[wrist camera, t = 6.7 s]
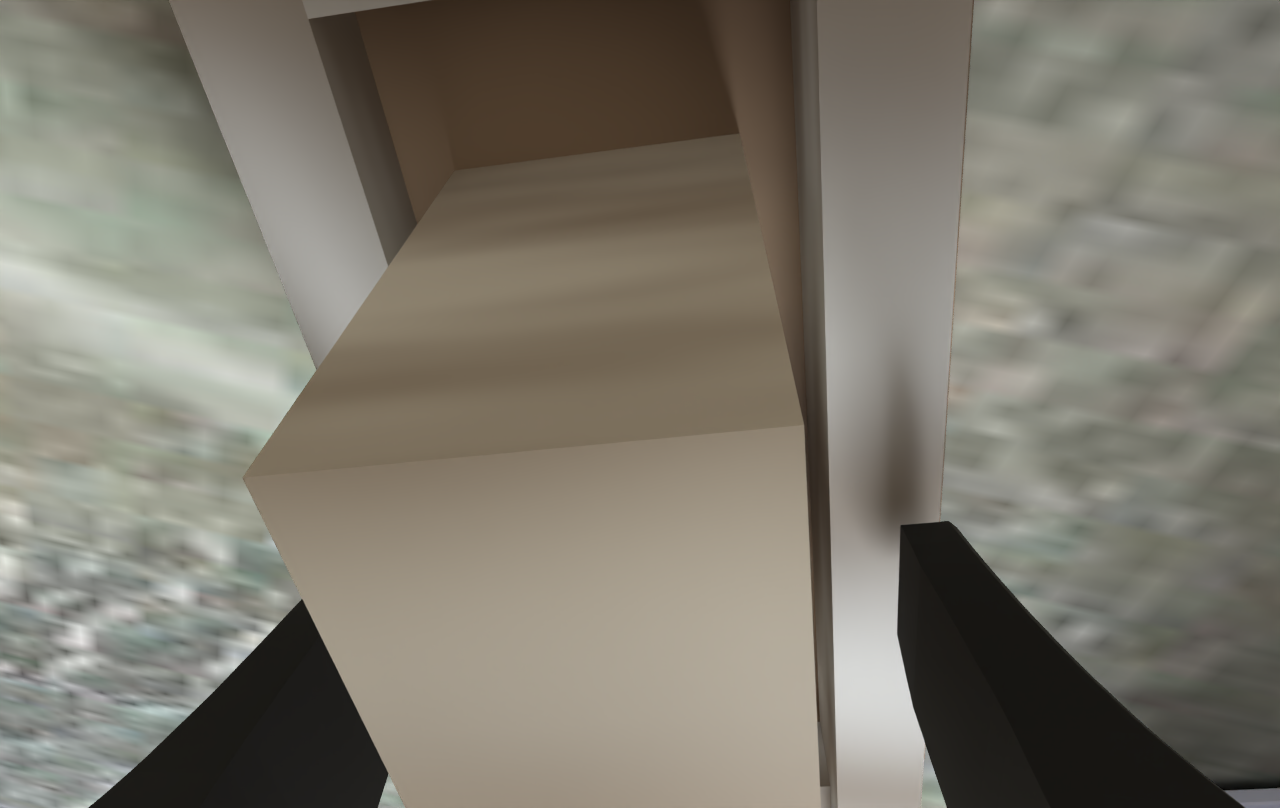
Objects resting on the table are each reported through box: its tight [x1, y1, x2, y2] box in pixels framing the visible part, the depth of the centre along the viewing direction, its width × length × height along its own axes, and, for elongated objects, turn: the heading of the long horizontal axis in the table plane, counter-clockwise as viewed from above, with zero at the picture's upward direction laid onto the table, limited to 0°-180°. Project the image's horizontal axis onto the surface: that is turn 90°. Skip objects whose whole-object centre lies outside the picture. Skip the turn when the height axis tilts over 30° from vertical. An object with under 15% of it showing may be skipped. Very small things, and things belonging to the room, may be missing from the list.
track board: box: [168, 0, 974, 808], centre depth 14 cm, size 18×10×4 cm, turn 8°
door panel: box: [243, 133, 821, 808], centre depth 12 cm, size 10×4×7 cm, turn 8°
